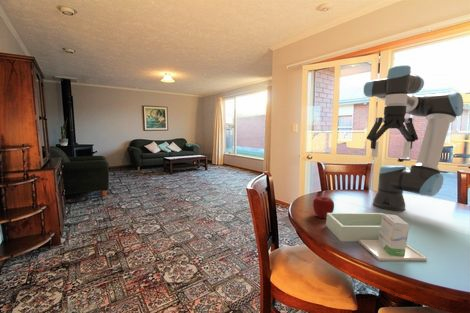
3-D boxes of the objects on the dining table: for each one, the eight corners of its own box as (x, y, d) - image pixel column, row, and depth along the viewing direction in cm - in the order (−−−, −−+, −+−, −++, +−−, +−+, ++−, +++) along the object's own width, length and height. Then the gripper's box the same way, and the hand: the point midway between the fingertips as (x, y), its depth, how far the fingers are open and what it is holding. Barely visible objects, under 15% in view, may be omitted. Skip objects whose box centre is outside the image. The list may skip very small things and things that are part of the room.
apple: (314, 211, 119) (315, 193, 117) (334, 215, 114) (335, 196, 113) (310, 218, 111) (311, 198, 109) (331, 222, 106) (333, 201, 104)
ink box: (377, 243, 86) (380, 213, 85) (392, 244, 86) (396, 214, 84) (389, 255, 78) (393, 222, 76) (406, 257, 77) (410, 223, 76)
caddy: (380, 225, 103) (382, 213, 102) (404, 241, 89) (406, 226, 88) (326, 225, 102) (326, 212, 102) (341, 241, 88) (342, 226, 88)
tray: (399, 242, 88) (400, 239, 88) (426, 261, 76) (426, 257, 76) (359, 242, 88) (359, 239, 87) (379, 261, 76) (379, 257, 76)
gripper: (417, 106, 98) (412, 155, 100) (360, 106, 97) (356, 155, 100) (433, 105, 90) (426, 158, 93) (371, 104, 90) (366, 157, 93)
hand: (390, 156), depth 97 cm, fingers open, 13 cm apart
